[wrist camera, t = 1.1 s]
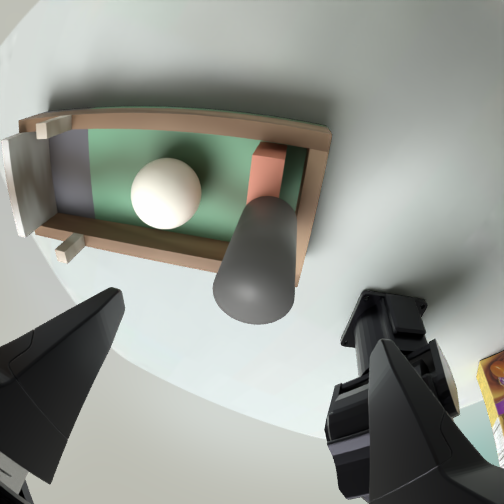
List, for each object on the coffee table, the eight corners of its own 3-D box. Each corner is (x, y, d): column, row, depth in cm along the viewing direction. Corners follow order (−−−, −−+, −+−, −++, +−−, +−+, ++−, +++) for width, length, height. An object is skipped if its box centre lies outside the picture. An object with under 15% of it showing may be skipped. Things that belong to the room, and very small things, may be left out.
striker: (287, 248, 21) (277, 359, 13) (244, 240, 21) (210, 347, 13) (307, 149, 17) (315, 215, 9) (257, 140, 17) (218, 199, 9)
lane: (298, 258, 23) (296, 313, 18) (58, 216, 24) (17, 249, 19) (326, 125, 17) (338, 143, 12) (47, 111, 19) (-5, 129, 14)
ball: (207, 215, 21) (187, 248, 17) (150, 206, 21) (120, 235, 17) (211, 154, 18) (188, 174, 15) (149, 148, 19) (115, 167, 15)
